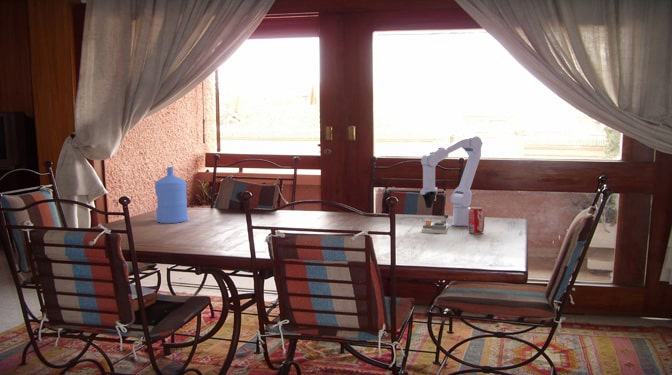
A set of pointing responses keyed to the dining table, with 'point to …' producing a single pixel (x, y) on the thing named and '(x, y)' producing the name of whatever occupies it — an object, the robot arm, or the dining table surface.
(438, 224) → the button
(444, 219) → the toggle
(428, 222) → the orange flat-faced block
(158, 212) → the water jug
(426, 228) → the panel
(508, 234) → the dining table surface
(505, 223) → the dining table surface
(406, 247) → the dining table surface
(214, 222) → the dining table surface
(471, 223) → the soda can
